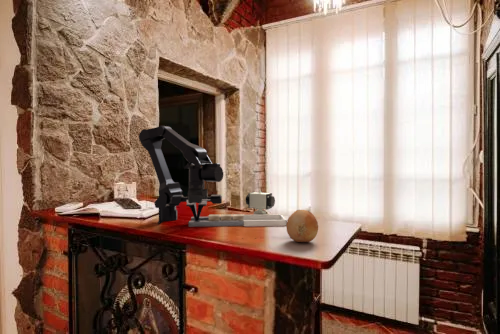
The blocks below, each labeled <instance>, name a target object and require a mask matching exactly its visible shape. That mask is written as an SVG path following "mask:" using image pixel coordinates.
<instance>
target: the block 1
mask: <svg viewBox="0 0 500 334" xmlns="http://www.w3.org/2000/svg"><path fill="white" fill-rule="evenodd" d="M220 216H221V214H220V213H219V214H209V215H208V217H209V220H220Z"/></svg>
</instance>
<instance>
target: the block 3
mask: <svg viewBox="0 0 500 334" xmlns="http://www.w3.org/2000/svg"><path fill="white" fill-rule="evenodd" d="M243 215H244V213H235V214H234V213H233V214H232V216H233V220H243Z"/></svg>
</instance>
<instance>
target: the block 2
mask: <svg viewBox="0 0 500 334" xmlns="http://www.w3.org/2000/svg"><path fill="white" fill-rule="evenodd" d="M220 216H221V220H231V216H232V213H231V214H225V213H223V214H222V213H221V214H220Z"/></svg>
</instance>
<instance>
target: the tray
mask: <svg viewBox="0 0 500 334" xmlns="http://www.w3.org/2000/svg"><path fill="white" fill-rule="evenodd" d="M243 220H244V227H286V225H287V220H288V219H286V217H284V216H283V214H280V213H278V214H277V213H276V214H275V213H272V214H270V213H269V214H268V213H267V214H260V215H253V214H243Z"/></svg>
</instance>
